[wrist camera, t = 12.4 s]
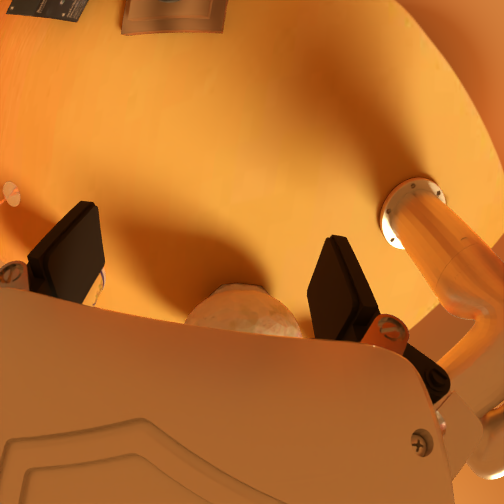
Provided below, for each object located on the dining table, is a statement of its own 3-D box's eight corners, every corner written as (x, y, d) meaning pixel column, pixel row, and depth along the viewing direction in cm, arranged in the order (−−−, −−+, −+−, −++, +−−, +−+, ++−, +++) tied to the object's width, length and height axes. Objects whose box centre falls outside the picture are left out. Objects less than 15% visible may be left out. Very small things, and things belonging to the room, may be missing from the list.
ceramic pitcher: (162, 306, 52) (133, 431, 33) (204, 235, 41) (171, 402, 22) (258, 342, 59) (258, 455, 40) (319, 289, 48) (343, 430, 29)
